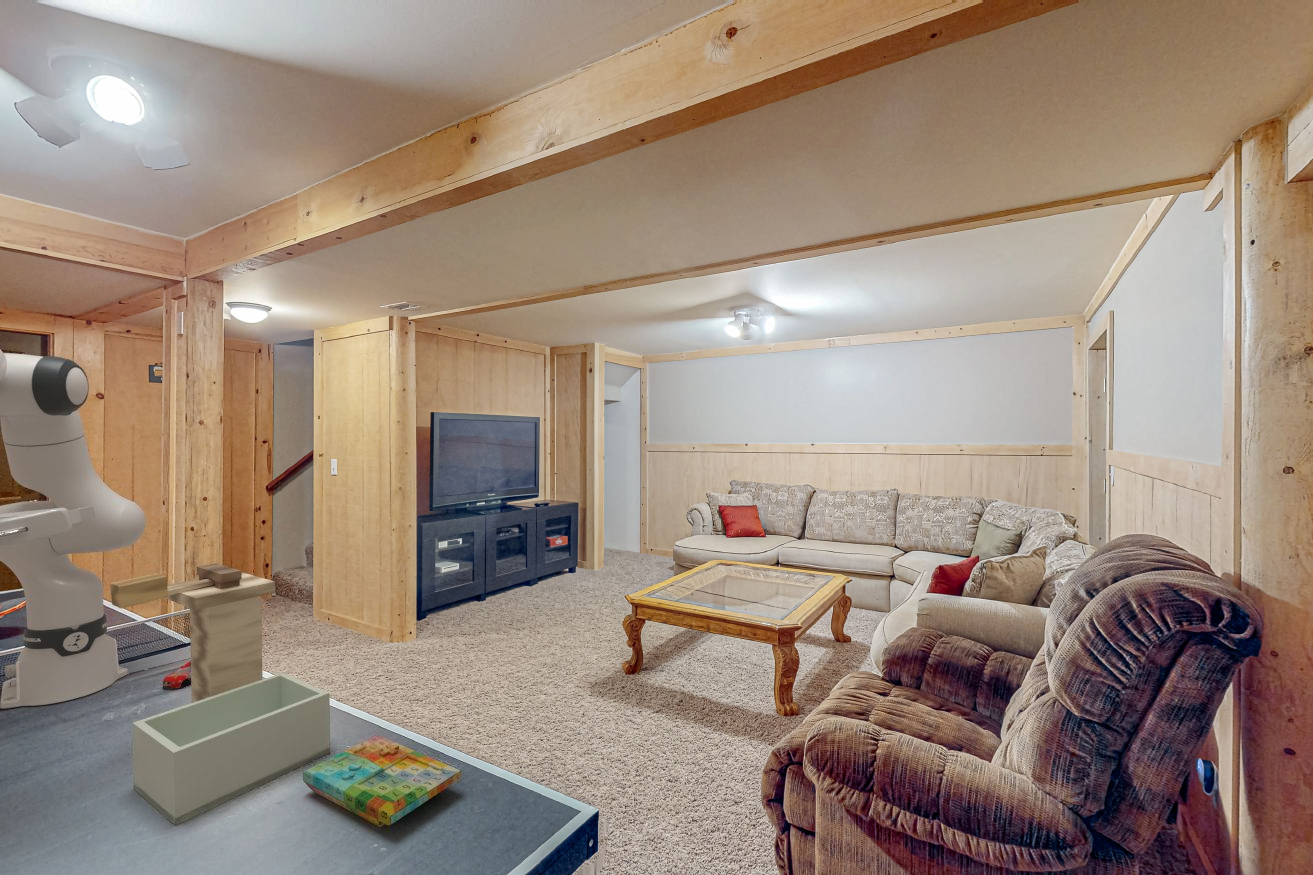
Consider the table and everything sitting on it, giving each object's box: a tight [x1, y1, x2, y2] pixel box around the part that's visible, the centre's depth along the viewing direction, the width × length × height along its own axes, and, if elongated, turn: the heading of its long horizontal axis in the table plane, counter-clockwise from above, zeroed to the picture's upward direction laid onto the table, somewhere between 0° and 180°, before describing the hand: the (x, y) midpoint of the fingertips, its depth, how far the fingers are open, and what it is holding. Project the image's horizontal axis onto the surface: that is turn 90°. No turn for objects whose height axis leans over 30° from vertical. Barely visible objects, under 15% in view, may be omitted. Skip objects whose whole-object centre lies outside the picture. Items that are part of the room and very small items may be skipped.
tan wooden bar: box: [109, 572, 215, 610], centre depth 100 cm, size 4×17×4 cm, turn 148°
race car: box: [162, 660, 191, 690], centre depth 127 cm, size 13×5×4 cm, turn 162°
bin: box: [132, 672, 331, 826], centre depth 93 cm, size 15×21×10 cm
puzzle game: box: [302, 734, 462, 828], centre depth 86 cm, size 12×5×20 cm
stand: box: [165, 563, 276, 703], centre depth 105 cm, size 14×12×29 cm
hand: (73, 513), depth 90 cm, fingers open, 8 cm apart
